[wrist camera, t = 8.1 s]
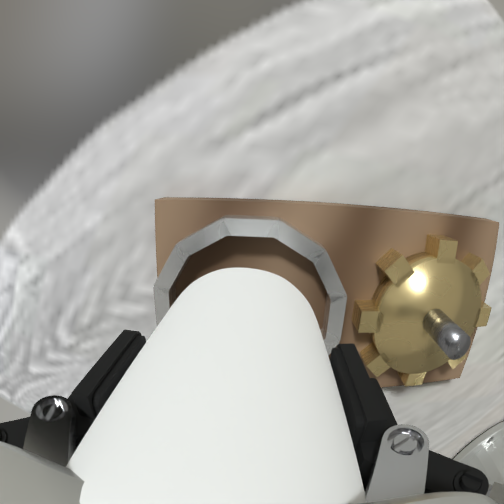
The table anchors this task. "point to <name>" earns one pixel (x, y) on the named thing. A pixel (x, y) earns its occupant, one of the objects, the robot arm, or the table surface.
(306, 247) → the ring
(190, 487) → the can
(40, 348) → the table surface
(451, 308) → the gear
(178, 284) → the gear board
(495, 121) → the table surface
